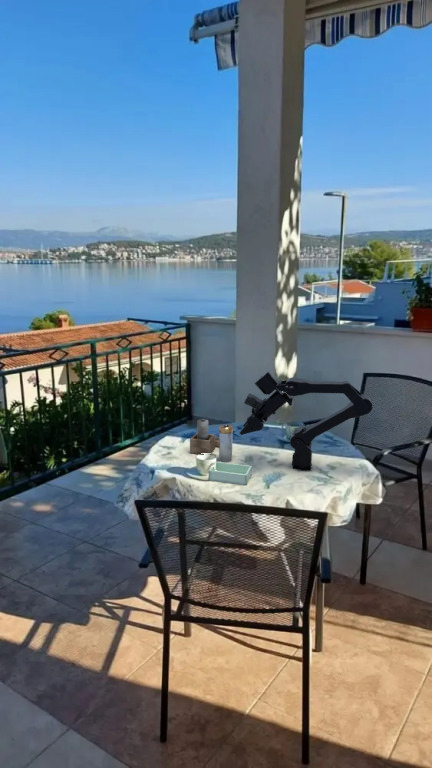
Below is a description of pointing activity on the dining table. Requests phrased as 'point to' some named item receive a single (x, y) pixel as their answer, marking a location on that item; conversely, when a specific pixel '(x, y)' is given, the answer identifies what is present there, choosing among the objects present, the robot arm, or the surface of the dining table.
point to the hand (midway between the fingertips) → (242, 430)
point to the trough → (230, 473)
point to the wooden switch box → (217, 442)
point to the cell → (225, 443)
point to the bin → (202, 439)
